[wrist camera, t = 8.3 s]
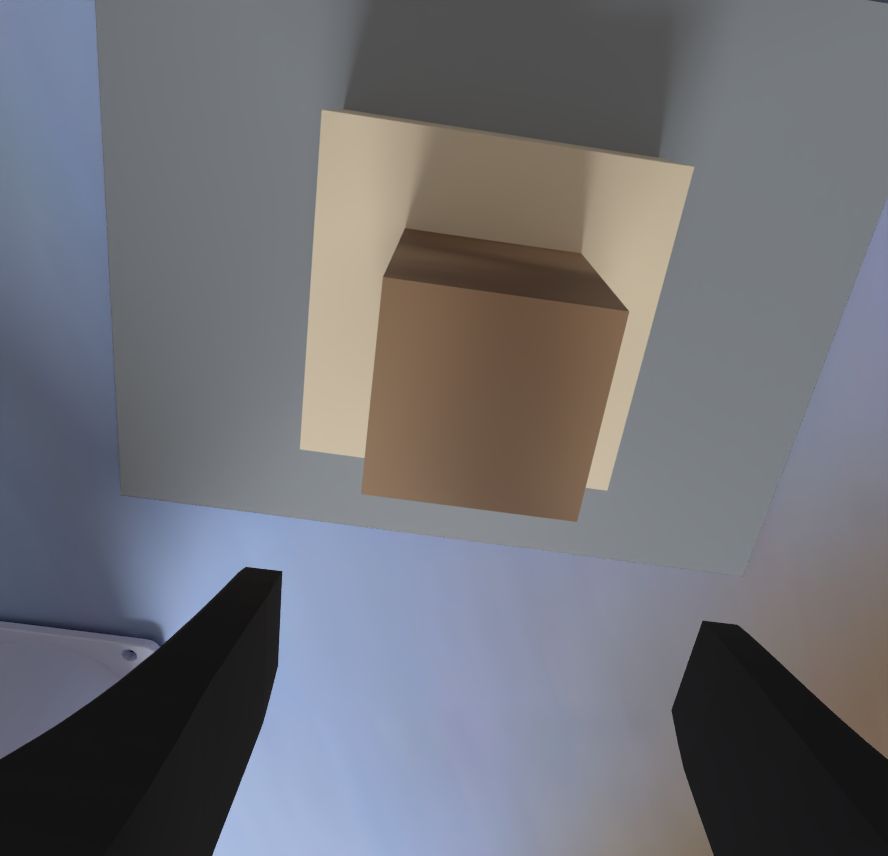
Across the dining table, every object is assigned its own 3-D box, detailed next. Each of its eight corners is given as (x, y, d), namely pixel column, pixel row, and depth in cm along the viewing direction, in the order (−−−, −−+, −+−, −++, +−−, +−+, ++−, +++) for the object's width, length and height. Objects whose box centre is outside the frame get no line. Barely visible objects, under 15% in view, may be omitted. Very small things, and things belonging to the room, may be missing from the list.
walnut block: (386, 393, 18) (361, 494, 13) (404, 228, 16) (383, 277, 11) (546, 415, 18) (577, 521, 13) (581, 253, 16) (629, 312, 12)
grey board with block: (128, 485, 23) (73, 549, 20) (100, -121, 16) (10, -178, 13) (736, 566, 24) (780, 639, 20) (940, 17, 17) (1054, -3, 14)
